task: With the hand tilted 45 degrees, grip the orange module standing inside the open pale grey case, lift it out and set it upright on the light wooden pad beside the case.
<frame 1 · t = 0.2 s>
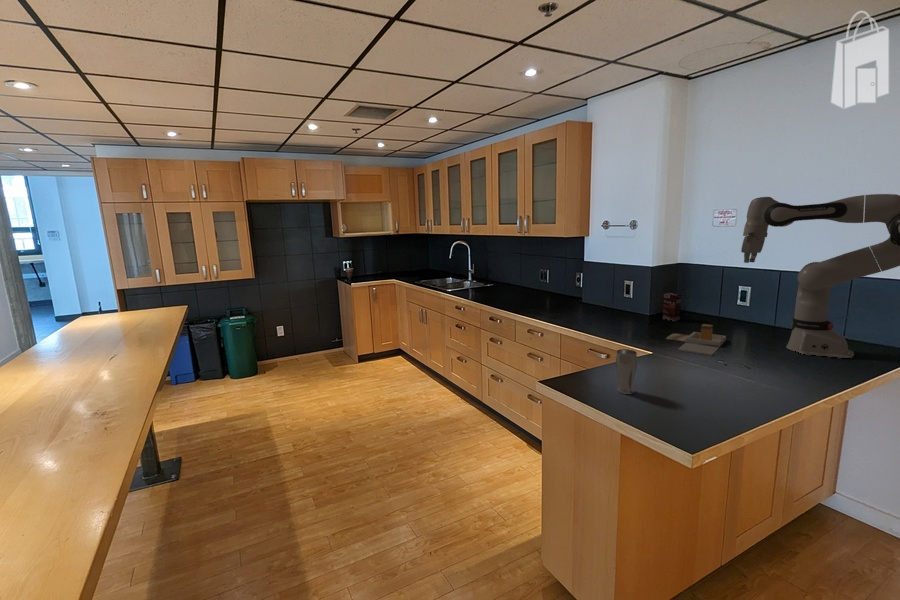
hand: (749, 262, 197), 39 cm above the table, tool pointing down, fingers open, 8 cm apart
supplement box: (671, 320, 251), on the table
pad: (678, 339, 213), on the table
module: (705, 341, 205), point 1 cm above the table, touching case
case: (705, 342, 205), on the table
beer glass: (625, 391, 153), on the table
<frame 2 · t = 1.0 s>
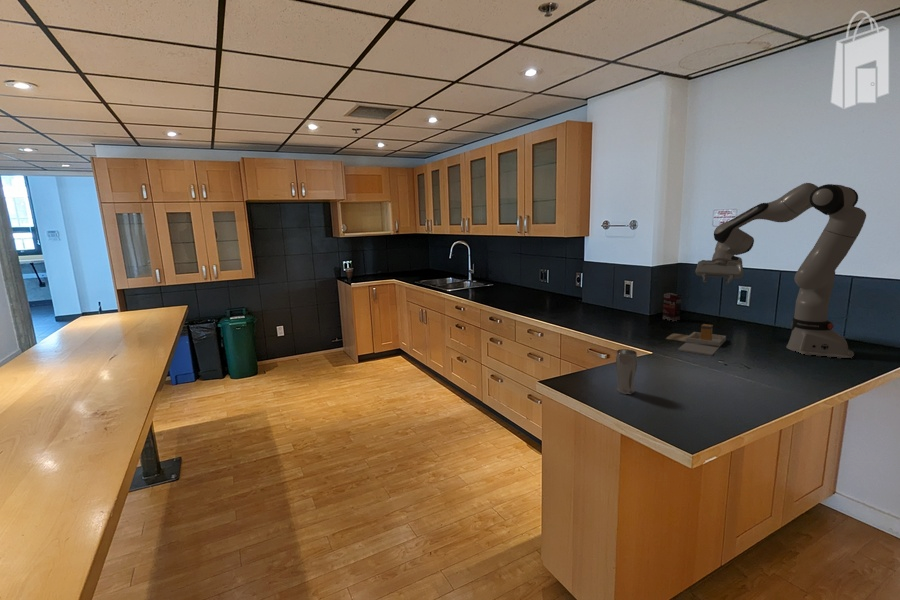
hand: (715, 282, 208), 28 cm above the table, tool tilted 45°, fingers open, 8 cm apart
nothing on the table moved.
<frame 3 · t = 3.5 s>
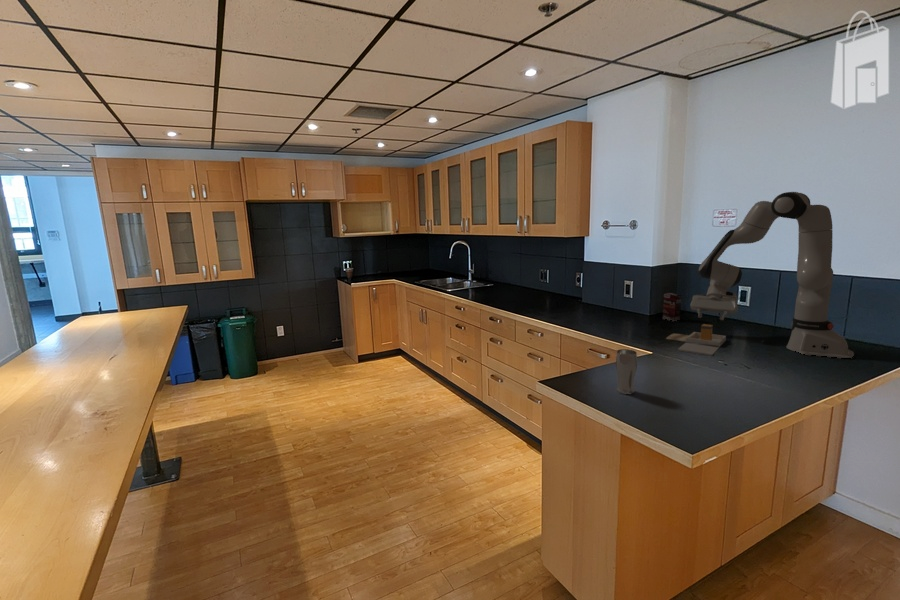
hand: (710, 318, 208), 11 cm above the table, tool tilted 45°, fingers open, 8 cm apart
nothing on the table moved.
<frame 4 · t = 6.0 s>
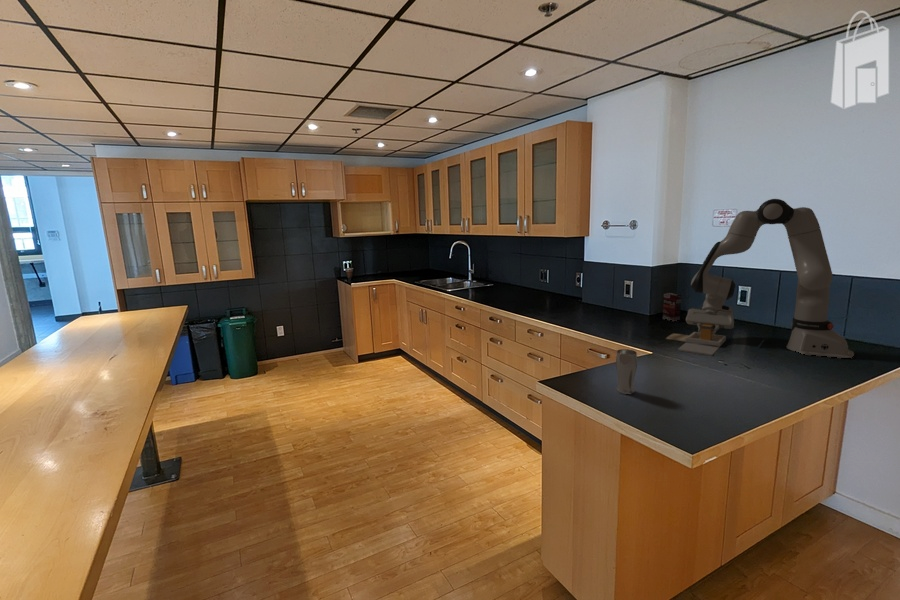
hand: (706, 332, 203), 5 cm above the table, tool tilted 45°, fingers closed on module, 4 cm apart
module: (705, 341, 205), point 1 cm above the table, touching case, gripper
everything else where it was.
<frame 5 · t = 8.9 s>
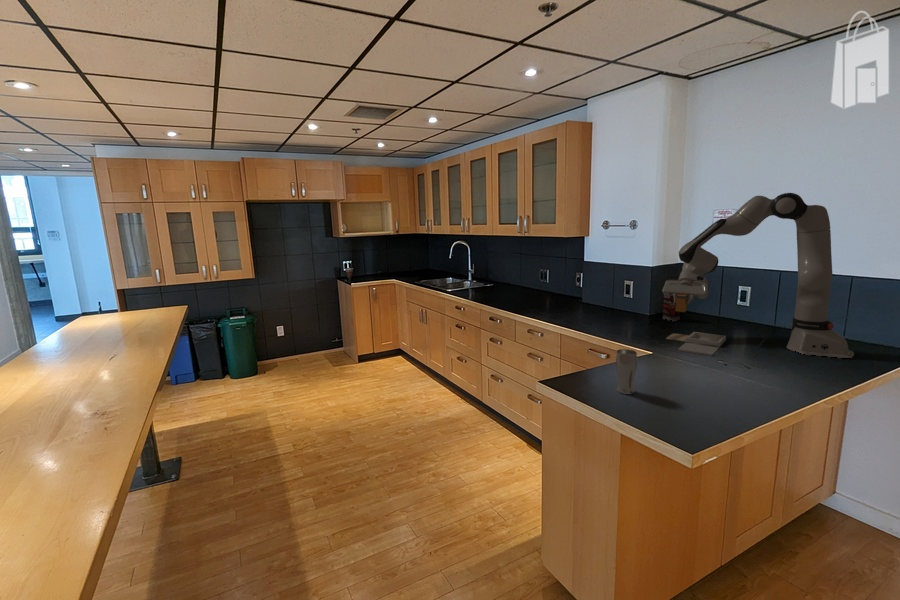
hand: (681, 302, 209), 19 cm above the table, tool tilted 45°, fingers closed on module, 4 cm apart
module: (680, 310, 210), point 15 cm above the table, touching gripper
everything else where it was.
when the fingers open (6 cm above the table, at t = 12.1 s): module stays where it is, resting on pad.
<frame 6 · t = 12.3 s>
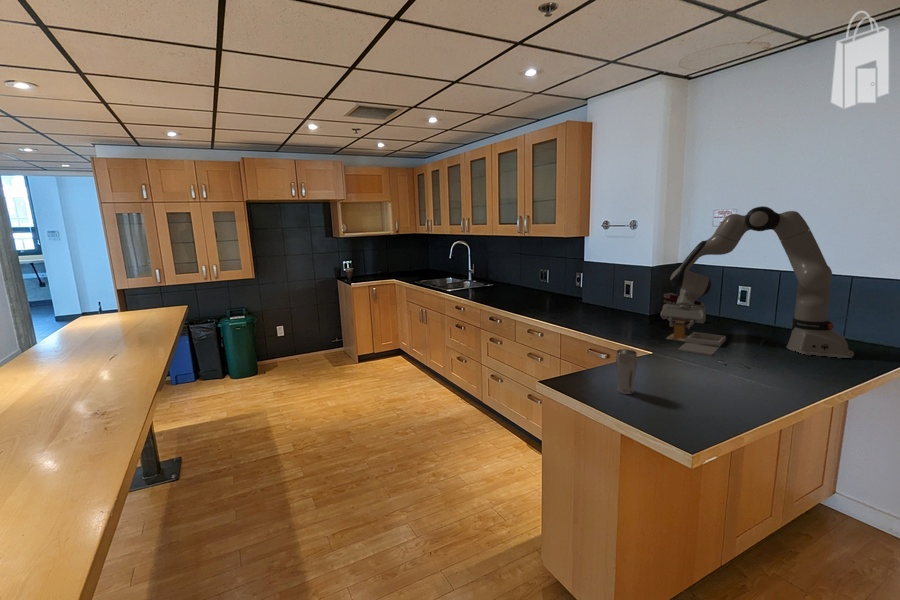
hand: (679, 327, 211), 6 cm above the table, tool tilted 45°, fingers open, 6 cm apart
module: (679, 337, 213), point 1 cm above the table, touching pad
everything else where it was.
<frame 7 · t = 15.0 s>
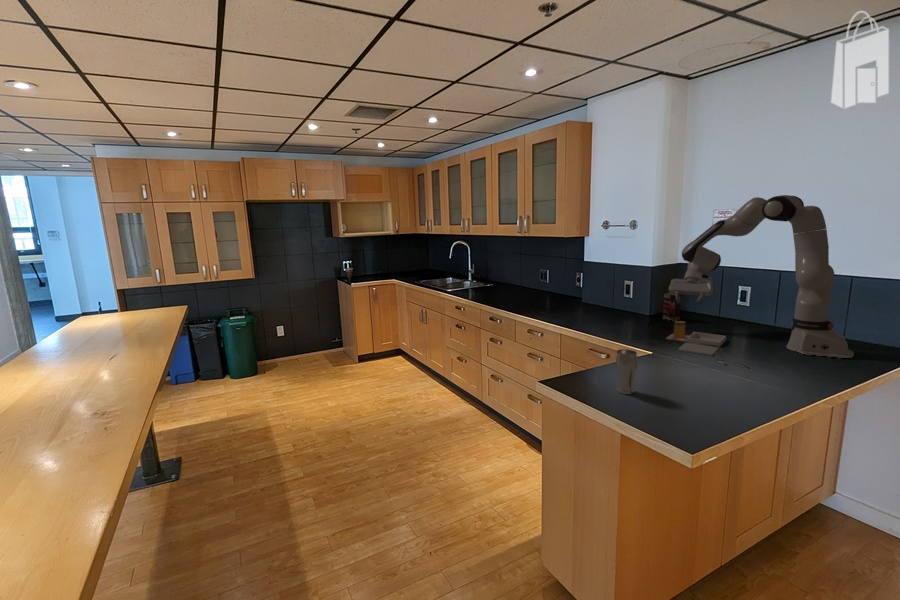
hand: (687, 300, 218), 18 cm above the table, tool tilted 45°, fingers open, 8 cm apart
nothing on the table moved.
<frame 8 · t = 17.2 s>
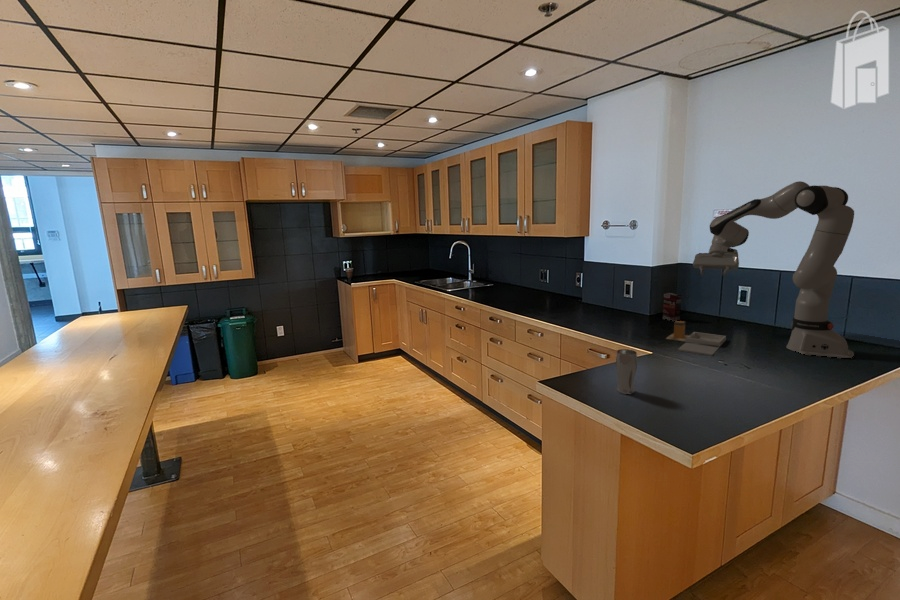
hand: (712, 274, 215), 31 cm above the table, tool tilted 45°, fingers open, 8 cm apart
nothing on the table moved.
at the end: module inside the target area on the pad (0.0 cm from its centre), point 1.0 cm above the pad's base; module tilted 0°; the gripper is holding nothing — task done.
